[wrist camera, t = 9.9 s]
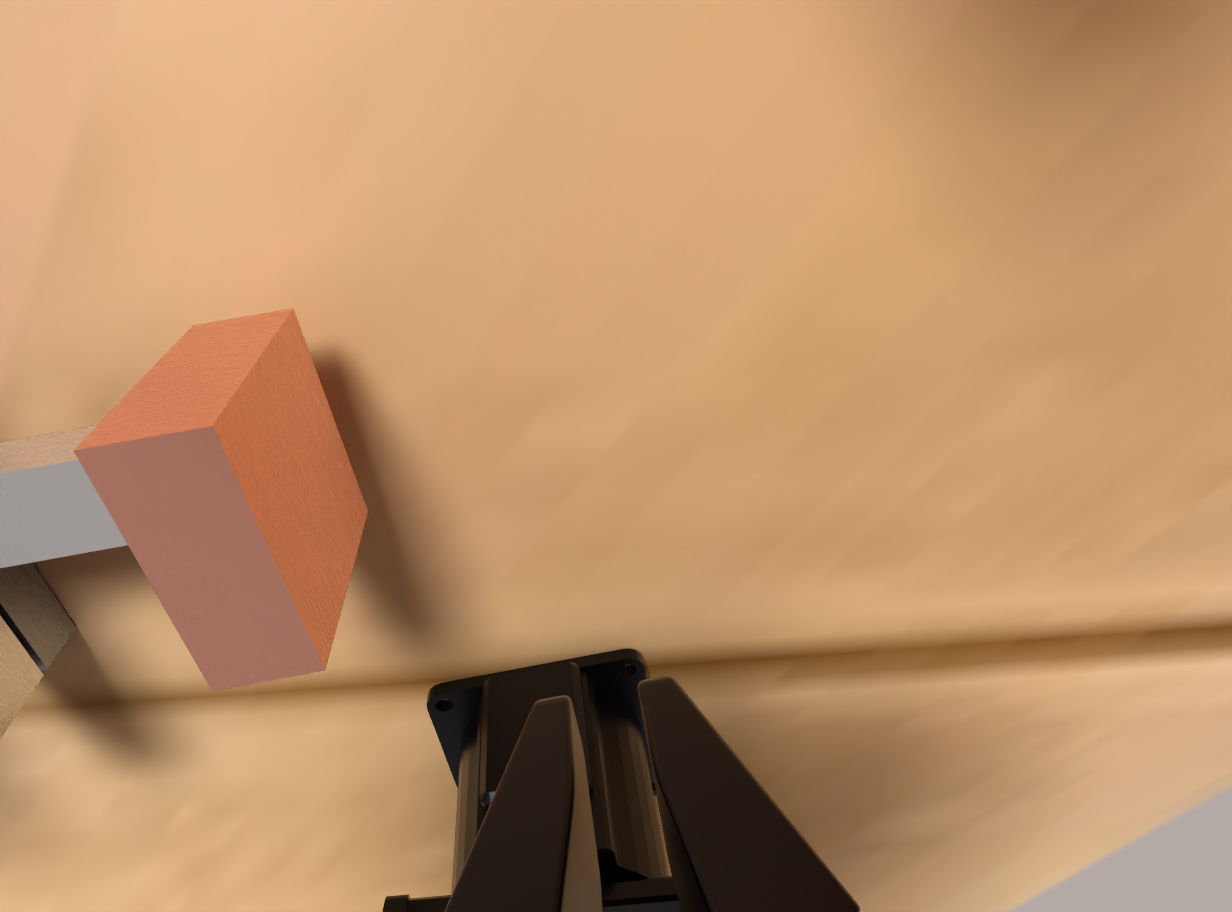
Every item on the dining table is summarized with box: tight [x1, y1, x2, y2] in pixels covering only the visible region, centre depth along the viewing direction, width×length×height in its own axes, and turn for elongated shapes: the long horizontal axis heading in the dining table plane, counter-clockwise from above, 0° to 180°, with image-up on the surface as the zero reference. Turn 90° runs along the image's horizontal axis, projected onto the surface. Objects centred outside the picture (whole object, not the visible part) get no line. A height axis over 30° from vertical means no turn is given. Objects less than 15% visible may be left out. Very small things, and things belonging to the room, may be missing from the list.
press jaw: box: [0, 309, 368, 738], centre depth 15 cm, size 11×11×5 cm
